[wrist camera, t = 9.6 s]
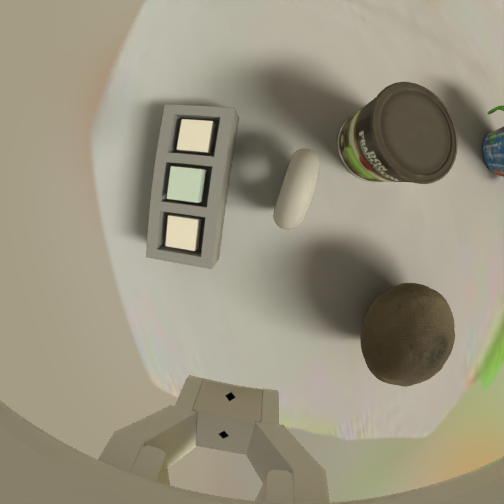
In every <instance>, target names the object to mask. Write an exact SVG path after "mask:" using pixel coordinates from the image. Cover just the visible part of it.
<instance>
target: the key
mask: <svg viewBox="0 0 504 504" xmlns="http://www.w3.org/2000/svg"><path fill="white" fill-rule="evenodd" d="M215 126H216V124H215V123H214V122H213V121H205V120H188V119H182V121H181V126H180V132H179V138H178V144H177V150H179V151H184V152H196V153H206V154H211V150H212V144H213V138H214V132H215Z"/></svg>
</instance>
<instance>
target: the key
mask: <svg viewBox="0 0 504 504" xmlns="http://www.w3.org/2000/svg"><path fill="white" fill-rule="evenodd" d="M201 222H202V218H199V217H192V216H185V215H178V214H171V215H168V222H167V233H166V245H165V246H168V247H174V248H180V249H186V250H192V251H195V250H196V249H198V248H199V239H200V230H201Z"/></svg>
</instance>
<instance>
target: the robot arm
mask: <svg viewBox="0 0 504 504" xmlns="http://www.w3.org/2000/svg"><path fill="white" fill-rule="evenodd" d="M195 446H201V447H206V448H212V449H218V450H223V451H229V452H234V453H240V454H246V455H247V457H248V459H249V461H250V462H251V464H252V466H253V467H254V469H255V471H256V472H257V474H258V476H259V477H260V479H261V481H262V482H263V485H262V487H261V489H260V491H259V494H258V496H257V498H256V500H255V501H249V500H241V499H233V498H227V497H220V496H214V495H209V494H203V493H199V492H194V491H190V490H186V489H181V488H177V487H174V486H170V482H169V475H168V469H167V468H168V467H170V466H171V465H173V464H174V463H175V462H177V461H178V460H179V459H181V458H182V457H183V456H184V455H186V454H187V453H188V452H190V451H191V450H192V449H193V448H195ZM0 504H504V457H502V458H500V459H498V460H496V461H493V462H491V463H489V464H487V465H485V466H482V467H480V468H478V469H475V470H473V471H471V472H468V473H465V474H463V475H460V476H457V477H454V478H452V479H449V480H446V481H443V482H439V483H436V484H433V485H429V486H426V487H422V488H419V489H415V490H411V491H406V492H402V493H397V494H392V495H387V496H381V497H375V498H368V499H361V500H352V501H341V502H329V494H328V486H327V479H326V471H325V470H324V469H323V468H322V467H321V465H320V464H318V462H317V461H316V460H315V459H314V458H313V457H312V456H311V455H310V454H309V453H308V452H307V451H306V450H305V449H304V447H303V446H301V444H300V443H299V442H298V441H297V440H296V439H295V438H294V436H293V435H292V434H291V433H290V432H289V431H288V430H287V429H286V427H285V426H284V425H279V399H278V391H277V390H269V389H258V388H251V387H244V386H238V385H232V384H227V383H222V382H217V381H213V380H208V379H203V378H199V377H194V376H190V375H189V376H188V377H187V379H186V381H185V384H184V386H183V388H182V391H181V393H180V395H179V398H178V400H177V402H176V405H175V406H172V405H170V406H168V407H166V408H164V409H162V410H161V411H158V412H156V413H154V414H152V415H150V416H148V417H146V418H144V419H142V420H140V421H137V422H136V423H133V424H131V425H129V426H127V427H124V428H122V429H120V430H118V431H115V432H114V434H113V435H112V437H111V439H110V440H109V442H108V444H107V445H106V447H105V449H104V450H103V452H102V454H101V455H100V457H99V459H95V458H93V457H91V456H89V455H87V454H85V453H83V452H81V451H79V450H77V449H75V448H73V447H71V446H69V445H67V444H65V443H64V442H62V441H60V440H58V439H56V438H55V437H53V436H51V435H50V434H48V433H46V432H44V431H43V430H41V429H40V428H38V427H37V426H35V425H34V424H32V423H31V422H29V421H28V420H26V419H25V418H23V417H22V416H20V415H19V414H17V413H16V412H15V411H13V410H12V409H11V408H9V407H8V406H7V405H5V404H4V403H3V402H1V401H0Z"/></svg>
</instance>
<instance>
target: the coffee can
mask: <svg viewBox="0 0 504 504" xmlns="http://www.w3.org/2000/svg"><path fill="white" fill-rule="evenodd" d="M337 144H338V151H339V155H340V158H341V160H342V162H343V163H344V165H345V167H346V168H347V169H348V170H349V171H350V172H351V173H352V174H353V175H354V176H356V177H358V178H360V179H362V180H364V181H368V182H414V183H419V184H428V183H433V182H436V181H438V180H440V179H442V178H443V177H444V176H445V175H446V174H447V173H448V172H449V171H450V169H451V168H452V166H453V164H454V161H455V158H456V154H457V145H458V142H457V133H456V128H455V125H454V122H453V119H452V117H451V115H450V113H449V111H448V109H447V108H446V106H445V105H444V104H443V102H442V101H441V100H440V99H439V98H438V97H437V96H436V95H435V94H434V93H432V92H431V91H430V90H428V89H426V88H425V87H423V86H420V85H418V84H415V83H409V82H399V83H394V84H392V85H389V86H388V87H386V88H385V89H384V90H382V91H381V92H380V93H379V94H378V96H377V97H376V98H375V99H373V100H372V101H371V102H369V103H368V104H367V105H366V106H364V107H363V108H362V109H361V110H359V111H358V112H357V113H356V114H354V115H353V116H351V117H350V118H348V119H347V120H346V121H345V122H344V124H343V125H342V127H341V129H340V131H339V135H338V141H337Z"/></svg>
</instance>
